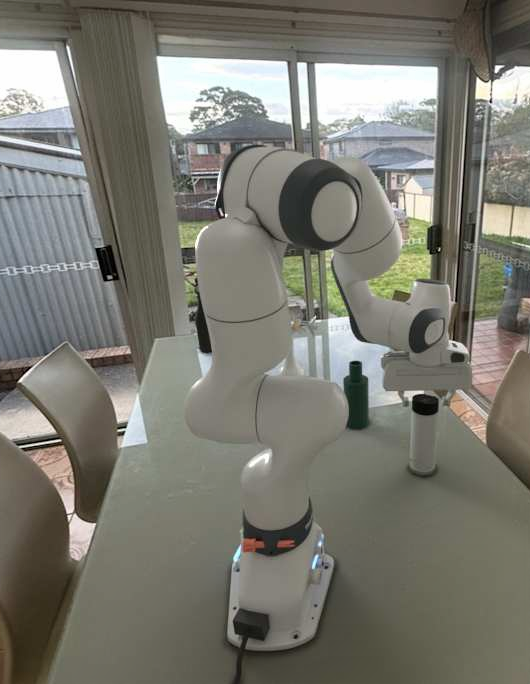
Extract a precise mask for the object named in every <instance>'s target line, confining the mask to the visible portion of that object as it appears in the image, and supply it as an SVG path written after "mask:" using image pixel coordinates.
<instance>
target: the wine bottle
mask: <svg viewBox="0 0 530 684" xmlns="http://www.w3.org/2000/svg"><path fill="white" fill-rule="evenodd" d="M194 283H195V288H196V296H197V308H196V311H195V316H194V329H195V335H196V342H197V347H198V350H199V351H200V352H203V353H209V352H212V347H211V341H210V336H209V331H208V327H207V322H206V318H205V314H204V311H203V307H202V302H201V298H200V293H199V287H198V280H197V277H195V278H194Z"/></svg>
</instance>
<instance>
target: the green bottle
mask: <svg viewBox="0 0 530 684" xmlns="http://www.w3.org/2000/svg"><path fill="white" fill-rule="evenodd" d="M342 380H343V392H344V394H345V396H346V398H347V401H348V407H349V416H348V421H347V424H346V427H347V428H349V429H353V430H360V429H364V428H366V427H367V426H368V425H369V423H370V421H369V420H370V419H369V418H370V415H369V412H370V411H369V410H370V409H369V408H370V407H369V405H370V404H369V377H368V376H366V375H364V374H363V362H362V361H361V360H351V361H349V363H348V374H347V375H345V376H344V378H343V379H342Z"/></svg>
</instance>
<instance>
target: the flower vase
mask: <svg viewBox="0 0 530 684" xmlns="http://www.w3.org/2000/svg"><path fill="white" fill-rule="evenodd" d="M289 314H290V321H291V325H292V326H291V329H292V336H293V342H292V347H291V350H290V352H289V354H288V355H287V357H286V358H285V359H284V360H283V361H284V362H283V364H282V365H281V366H280V368H279V369H278V370H277V375H283V376H306V370H305V368H304V367H303V366H302V364H300V363H299V362H298V361H297V358H296V355H295V344H294V341H295V340H294V338H295V333H296V332H297V334H299V335H300V336H301V337H304V334H303V333H306V332H307V331H306V329H305V328H304V327H307V329H308V331H309V334H311V336H312V338H313V339H314V338H315V331H316V330H318V328H319V327H318V324H317V323H315V322H316V321H317V315H314V317H312V318H311V319H310V320H309V321H308V320H305V319H304V317H305V315H304V313H302V312H299V313H298V314H297V315H296V314H295V312H294V311H292V310H289ZM303 319H304V320H303Z"/></svg>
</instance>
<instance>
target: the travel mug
mask: <svg viewBox="0 0 530 684" xmlns="http://www.w3.org/2000/svg"><path fill="white" fill-rule="evenodd" d="M439 405H440V399H439V398H438V397H437V396H435V395H430V394H426V393H418V394H417V393H416V394H413V396H412V397H411V415H410V416H411V417H410V445H409V447H410V449H409V469H410V471H411V472H412V473H413V474H414V475H418V476H423V477H424V476H429V475H432V474H433V473H434V472H435V471H436V462H437V447H438V445H437V444H438V427H439V411H440V409H439V408H440V406H439Z"/></svg>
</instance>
